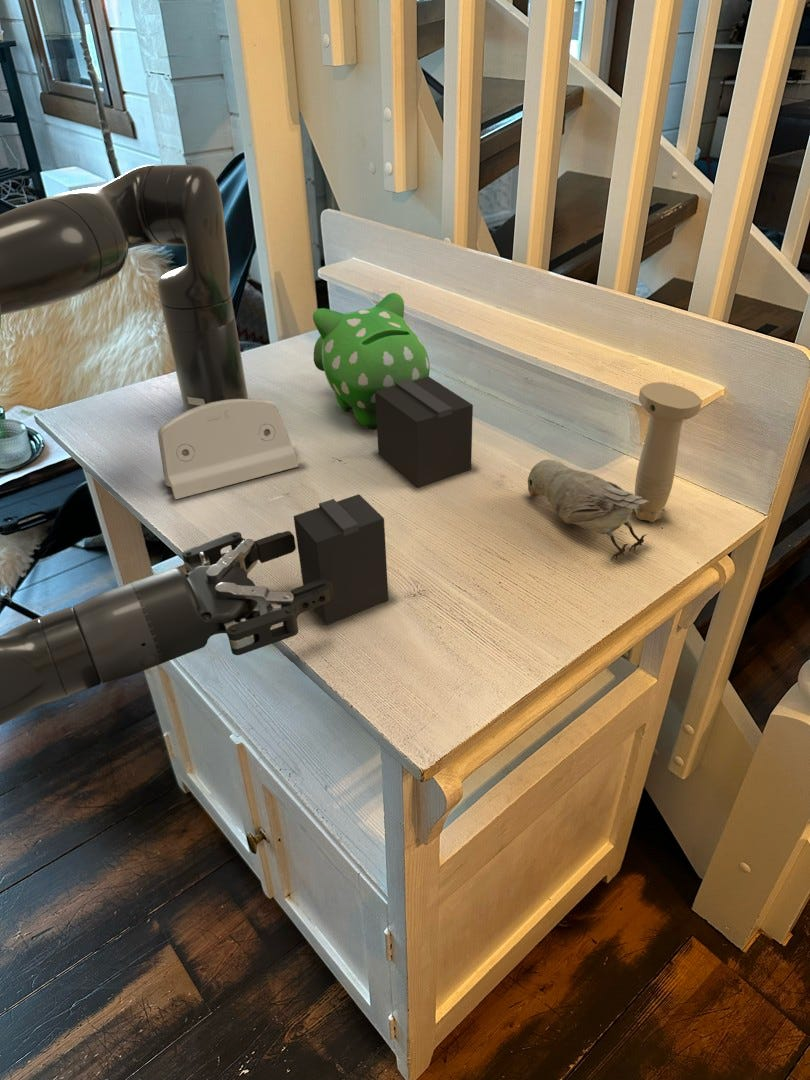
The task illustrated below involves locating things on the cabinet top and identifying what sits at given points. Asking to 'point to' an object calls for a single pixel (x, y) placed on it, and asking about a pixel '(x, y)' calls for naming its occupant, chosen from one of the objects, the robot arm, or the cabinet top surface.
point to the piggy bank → (367, 354)
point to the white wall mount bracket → (223, 445)
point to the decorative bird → (585, 499)
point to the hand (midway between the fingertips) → (311, 562)
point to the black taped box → (424, 430)
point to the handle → (661, 444)
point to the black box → (344, 554)
